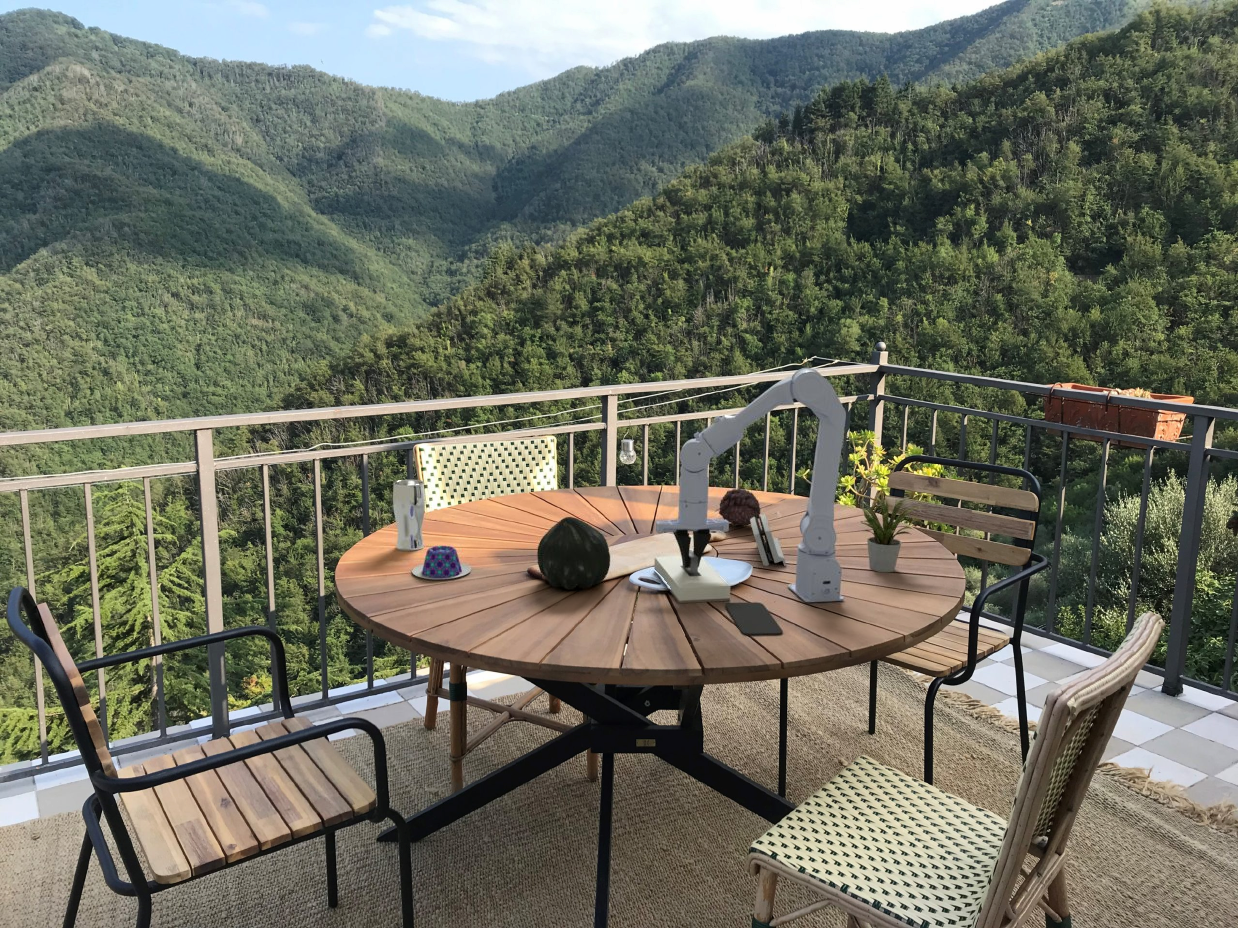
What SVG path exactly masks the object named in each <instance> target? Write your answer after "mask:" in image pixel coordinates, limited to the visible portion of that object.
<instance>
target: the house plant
mask: <svg viewBox="0 0 1238 928" xmlns="http://www.w3.org/2000/svg"><path fill="white" fill-rule="evenodd" d="M875 499H877V501H878V503H879V504H880V509H881V516H882V524H881V523H880V520H879V518H878V515H877V514H876V512H875V510H874V509H873V508H872V507H871V505H869V504H868V503H867V502H865V501H864V500H862V499H860V502H862V503H863V504H864V505H865V506H866V507H867V508H866V507H863V506H862V507H861V508H862V509H861V510H862V512H863V515H864V518H865V520H862V521H860V524H862V525H865V526H867V527H869V528H871V529H872V531H873V532H872V531H871V530H869V529H864V530H863V532H869V533H871V534H872V535H873V536H871V537H868V538H867V541H866V542H867V551H868V563H869V569H870V570H872V571H875V572H879V573H893V572H895V570H896V566H897V561H898V557H899V554H900V550H901V547H902V542H901V540H900V539H897V538H895V537H896V536H897V535H903V534H904V535H905V534H906V535H907V534H908V535H911V533H910V532H909V531H903V530H907V529H910V530H914V528H912V527H911V526H905V527H901V528H900V529H899V530H898V531H897V532H896V529H897V528H898V526H899V524H900V523H901V522H902V521H903V520H904V519H905V517H906V516H907V515H908V514H910V513H911V512H912V511H915V510H916V509H920V508H922V506H915V507H913V508H912V507H911V506H907V505H908V504H905V503H904V502H905V501H907V500H908V499H909V498H903V499H901V500H900V501H899V502H898V503H896V505H894V507H893V509H892V512H891V516H890V517H889V503H888V500H887V498H886V497H884V500H885V502H883V500H881V499H880V498H879V497H877V496H875ZM902 506H907V507H905V508H904V509H903V510H902V511H901V512H900V514H899V515H898V516H897V517H896V515H897V513H898V511H899V509H901V507H902ZM910 508H911V509H910ZM895 518H896V519H895ZM895 532H896V533H895Z"/></svg>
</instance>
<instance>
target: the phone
mask: <svg viewBox="0 0 1238 928" xmlns="http://www.w3.org/2000/svg"><path fill="white" fill-rule="evenodd" d="M724 608H725V609H726V611H727V614H729V616H730V618H731V619H732V621H733V622H734V624H735V626H736V627H737V628H738V630H739V632H740V634H741V635H744V636H749V637H751V636H754V637H755V636H757V637H758V636H761V637H762V636H782V635H783V634H784V631H783V629H782V628H781V626H780V625H779V624H778V622H777V621H776V620H775V618H774V617H773V615H772V614H771V613H770V612H769V610H768V609H767V607H766V606H765V605H764V604H763V603H762V602H758V601H757V602H755V601H753V602H726V603H725V605H724Z"/></svg>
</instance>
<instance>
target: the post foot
mask: <svg viewBox="0 0 1238 928" xmlns="http://www.w3.org/2000/svg"><path fill="white" fill-rule="evenodd" d="M653 566H654V568H653V569H655V570H656V571H657V572H658V573H659V574H660V575H661V576H662V577H663V578H664V580H665V581H666V582H667V584H668V585H669V586H670V588H671V590H670V591H669V592H670V593H671V595H672V596H673V597H674V598H675V600H676V601H677V603H678V604H686V603H687V604H688V603H689V604H692V603H693V604H694V603H707V602H708V603H709V602H711V603H712V602H729V601H731V585H730V584H729V583H728V581H726V580H725V579H724V577H722V576H721V575H720V573H719V572H718V571H717V570H716V569H715V568H714V567H713V566H711V565H710V563H709V562H708V561H707V560H706V559H704V558H703V556H702V557H701V560H700V564H699V567H698V575H697V576H689V575H688V574H687V573H686V572H685V571H684V570H683V563H682V556H681V555H676V556H675V555H673V556H655V557H654V565H653Z"/></svg>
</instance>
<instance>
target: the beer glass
mask: <svg viewBox="0 0 1238 928" xmlns="http://www.w3.org/2000/svg"><path fill="white" fill-rule="evenodd" d="M424 482H425V481H422V480H419V479H400V480H396V481H394V482H393V487H392V488H393V489H392V490H393V491H392V492H393V493H392V506H393V513H394V518H395V522H396V527H397V540H396V547H395V548H396V549H397V550H398V551H402V552H413V551H419V550H422V549H423V548H425V543H424V539H423V522H424V517H425V509H426V496H425V495H426V494H425V492H426V491H425V485H424Z"/></svg>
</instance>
